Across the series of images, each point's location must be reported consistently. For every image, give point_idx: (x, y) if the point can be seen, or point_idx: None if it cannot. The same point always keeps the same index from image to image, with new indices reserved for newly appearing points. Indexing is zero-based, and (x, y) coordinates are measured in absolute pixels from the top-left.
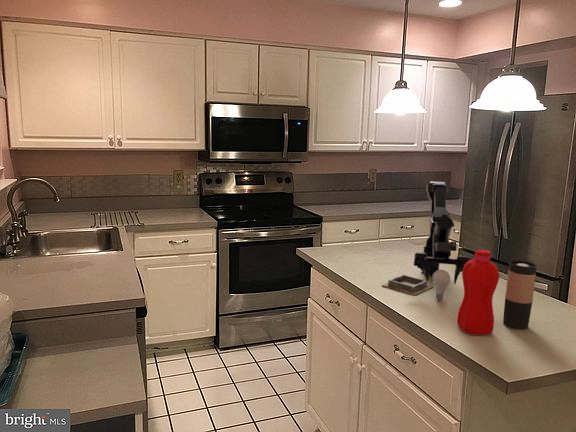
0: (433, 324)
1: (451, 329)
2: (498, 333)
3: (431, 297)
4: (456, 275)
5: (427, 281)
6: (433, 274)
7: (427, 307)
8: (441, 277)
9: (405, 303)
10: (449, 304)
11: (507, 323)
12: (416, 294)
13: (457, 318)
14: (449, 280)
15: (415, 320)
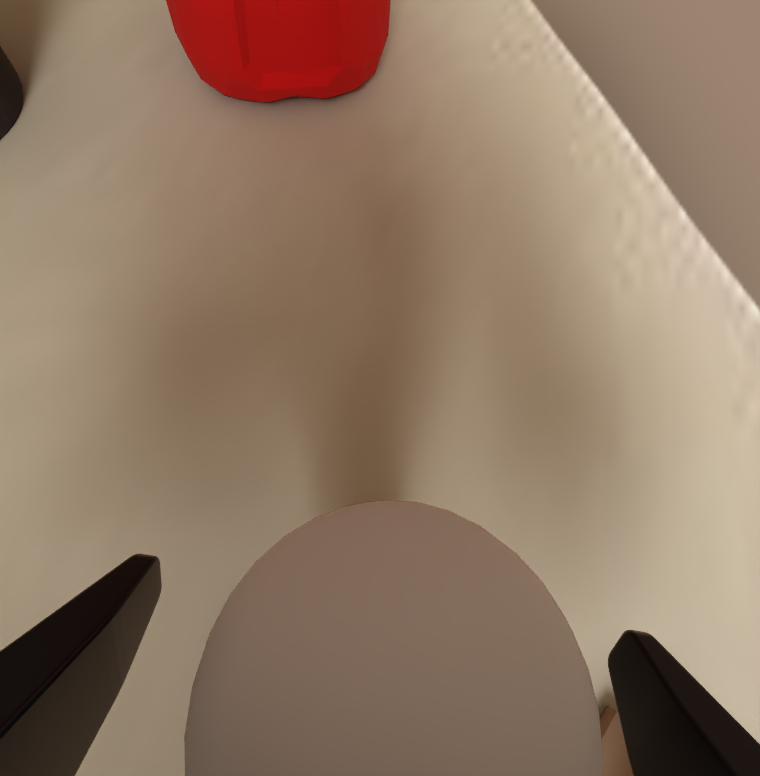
0: (516, 108)
1: (422, 53)
2: (148, 9)
3: None
4: (8, 680)
5: (618, 654)
6: (600, 730)
7: (514, 384)
8: (443, 521)
9: (691, 458)
10: (293, 483)
11: (4, 54)
12: None
13: (389, 10)
14: (252, 568)
15: (620, 156)
